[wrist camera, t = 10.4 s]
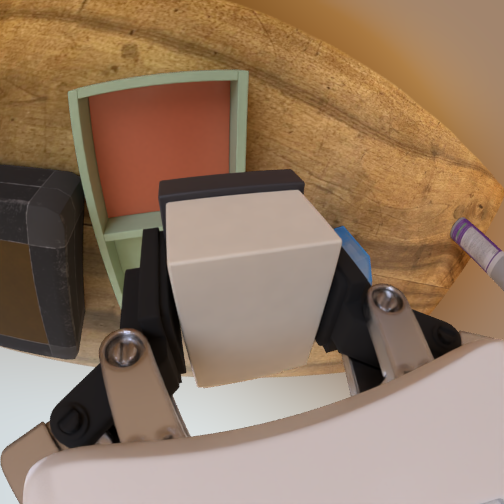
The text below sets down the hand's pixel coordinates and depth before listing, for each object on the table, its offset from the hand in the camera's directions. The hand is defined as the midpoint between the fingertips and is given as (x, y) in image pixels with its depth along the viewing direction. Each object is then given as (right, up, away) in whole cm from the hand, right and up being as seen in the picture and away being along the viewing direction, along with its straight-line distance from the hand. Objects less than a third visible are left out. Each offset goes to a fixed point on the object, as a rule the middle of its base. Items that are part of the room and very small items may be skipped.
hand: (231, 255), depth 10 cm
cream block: (0, -1, +1) cm, 2 cm away
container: (+38, +5, +32) cm, 50 cm away
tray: (-7, +4, +17) cm, 19 cm away
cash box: (-29, +2, +12) cm, 31 cm away
